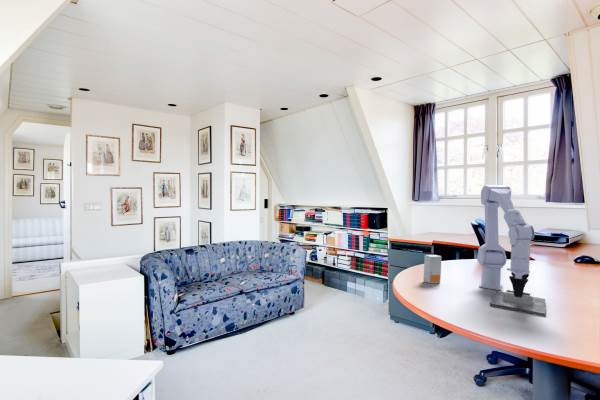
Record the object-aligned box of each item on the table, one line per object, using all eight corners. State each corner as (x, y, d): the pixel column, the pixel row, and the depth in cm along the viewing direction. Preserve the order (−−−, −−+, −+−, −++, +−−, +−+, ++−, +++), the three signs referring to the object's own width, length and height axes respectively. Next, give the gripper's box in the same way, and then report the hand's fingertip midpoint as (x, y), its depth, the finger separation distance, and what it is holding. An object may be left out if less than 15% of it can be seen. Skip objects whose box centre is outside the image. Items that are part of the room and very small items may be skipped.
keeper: (496, 293, 135) (496, 280, 134) (545, 301, 125) (545, 288, 125) (489, 305, 118) (490, 292, 118) (545, 316, 109) (546, 301, 109)
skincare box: (429, 283, 146) (430, 256, 146) (423, 281, 151) (424, 254, 150) (440, 283, 148) (441, 256, 148) (434, 280, 152) (435, 254, 152)
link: (502, 300, 122) (503, 291, 122) (504, 296, 126) (504, 288, 126) (532, 305, 117) (533, 296, 117) (532, 301, 121) (533, 293, 121)
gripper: (508, 253, 130) (507, 288, 130) (505, 259, 118) (504, 296, 118) (530, 256, 125) (529, 291, 126) (529, 261, 114) (528, 301, 114)
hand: (518, 294), depth 122 cm, fingers open, 7 cm apart
